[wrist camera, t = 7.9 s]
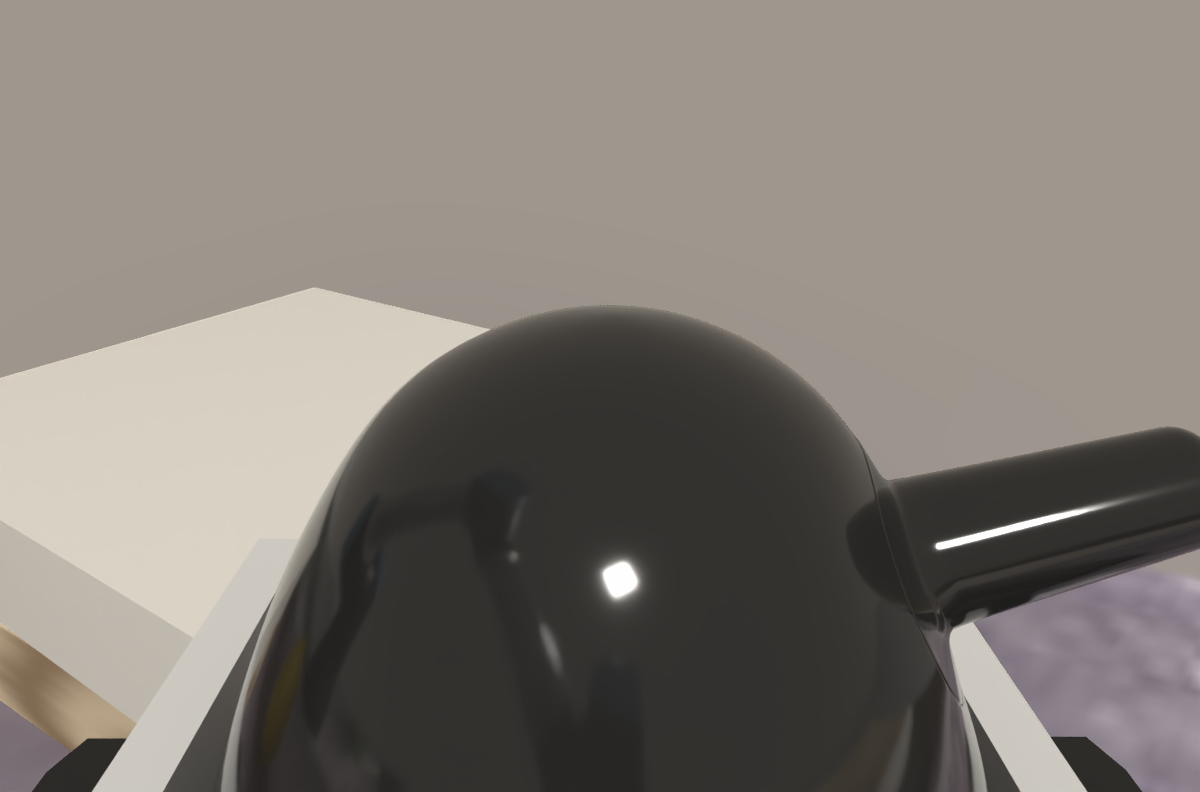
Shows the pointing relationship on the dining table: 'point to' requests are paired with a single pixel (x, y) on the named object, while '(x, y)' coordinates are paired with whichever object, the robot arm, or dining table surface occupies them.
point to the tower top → (182, 470)
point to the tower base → (54, 696)
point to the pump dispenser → (661, 578)
